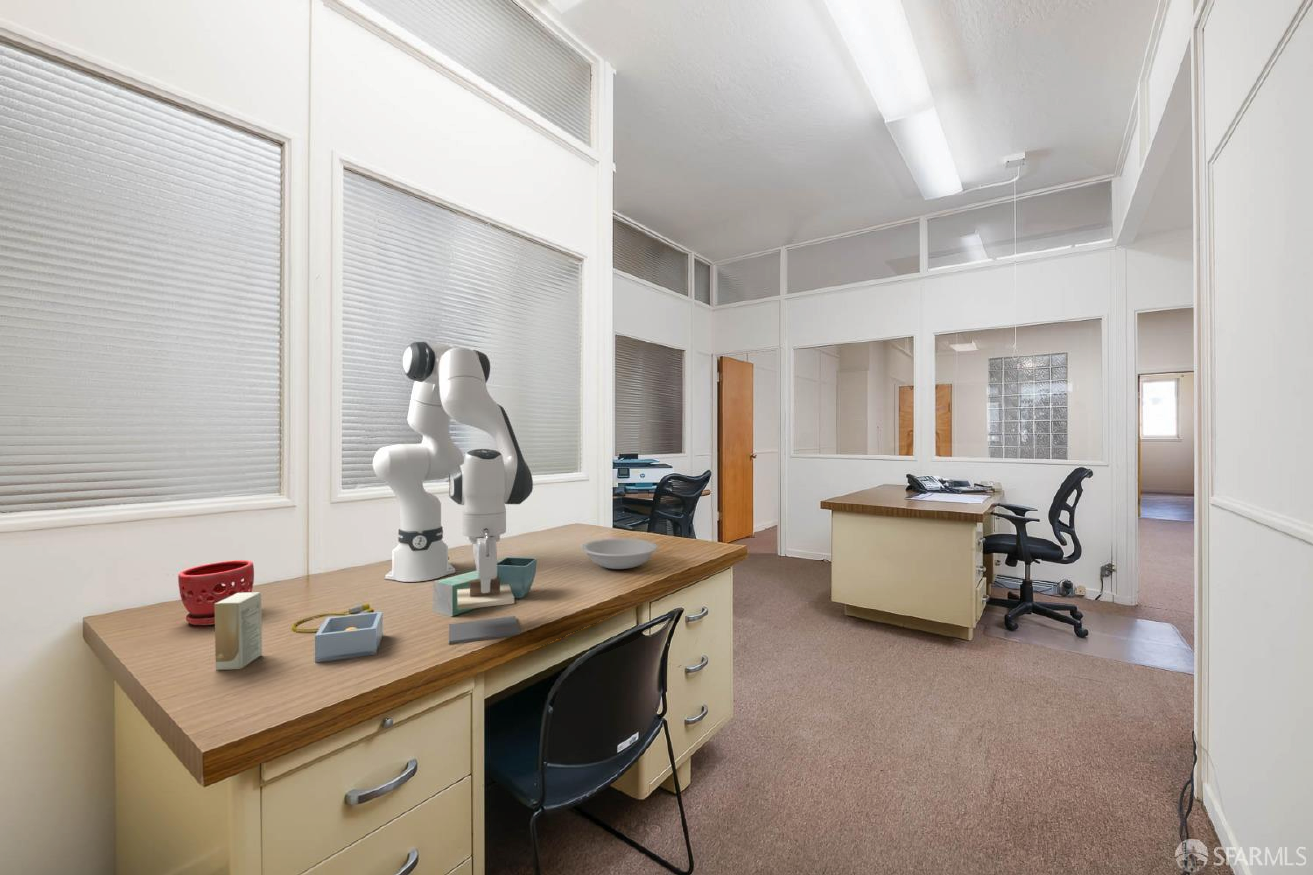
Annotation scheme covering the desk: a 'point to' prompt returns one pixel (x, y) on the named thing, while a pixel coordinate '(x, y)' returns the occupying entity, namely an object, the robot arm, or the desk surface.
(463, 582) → the box
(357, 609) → the extension cord
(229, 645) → the skincare box
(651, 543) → the soup bowl
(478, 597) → the birch lid
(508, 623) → the rubber mat
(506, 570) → the flower pot
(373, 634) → the blue storage bin
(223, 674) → the desk surface
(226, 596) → the plant pot
